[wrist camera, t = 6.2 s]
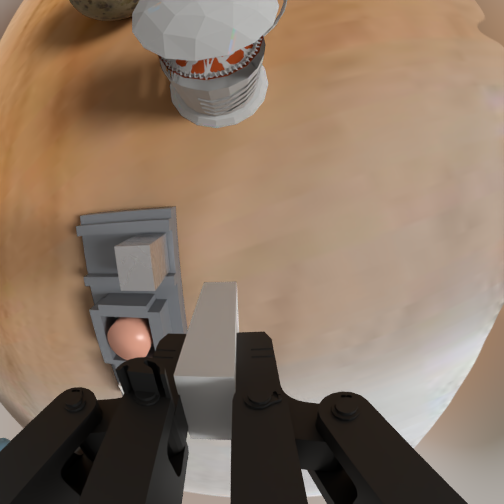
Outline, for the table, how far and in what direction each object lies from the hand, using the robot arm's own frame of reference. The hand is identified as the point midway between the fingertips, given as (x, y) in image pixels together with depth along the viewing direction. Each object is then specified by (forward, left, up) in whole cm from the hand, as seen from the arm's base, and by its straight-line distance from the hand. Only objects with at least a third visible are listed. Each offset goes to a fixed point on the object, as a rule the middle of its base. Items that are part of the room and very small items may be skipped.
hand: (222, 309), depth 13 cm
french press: (0, +17, -15) cm, 22 cm away
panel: (-10, -8, -15) cm, 20 cm away
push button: (-10, -8, -12) cm, 18 cm away
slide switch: (-7, 0, -12) cm, 14 cm away
